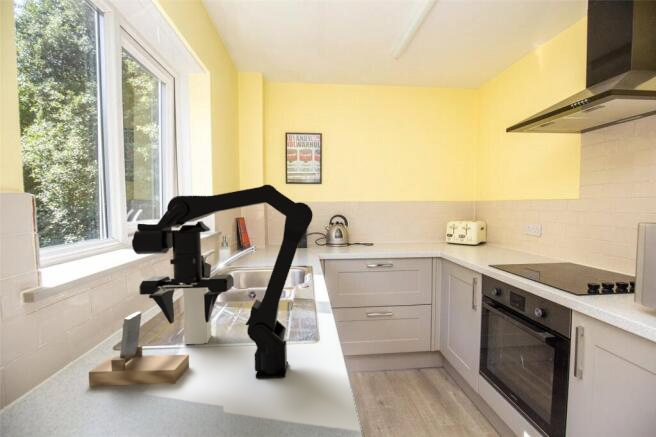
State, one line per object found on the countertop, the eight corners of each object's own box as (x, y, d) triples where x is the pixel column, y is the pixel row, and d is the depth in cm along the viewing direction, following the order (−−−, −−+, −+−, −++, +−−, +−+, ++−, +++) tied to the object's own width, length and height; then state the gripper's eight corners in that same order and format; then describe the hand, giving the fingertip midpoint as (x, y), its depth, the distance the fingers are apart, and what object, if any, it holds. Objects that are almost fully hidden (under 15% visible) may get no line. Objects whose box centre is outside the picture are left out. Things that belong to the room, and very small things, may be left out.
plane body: (189, 367, 73) (188, 344, 73) (174, 383, 66) (174, 358, 66) (111, 368, 72) (111, 346, 72) (89, 385, 65) (88, 360, 65)
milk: (211, 335, 92) (210, 261, 91) (206, 344, 86) (205, 264, 85) (189, 336, 91) (188, 262, 90) (183, 345, 85) (182, 265, 84)
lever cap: (136, 355, 71) (141, 312, 71) (123, 364, 67) (129, 319, 66) (128, 354, 71) (133, 311, 71) (115, 363, 67) (120, 318, 66)
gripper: (239, 247, 77) (241, 309, 77) (163, 249, 77) (165, 312, 77) (225, 253, 66) (227, 326, 66) (136, 256, 65) (139, 329, 66)
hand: (189, 322), depth 69 cm, fingers open, 8 cm apart
